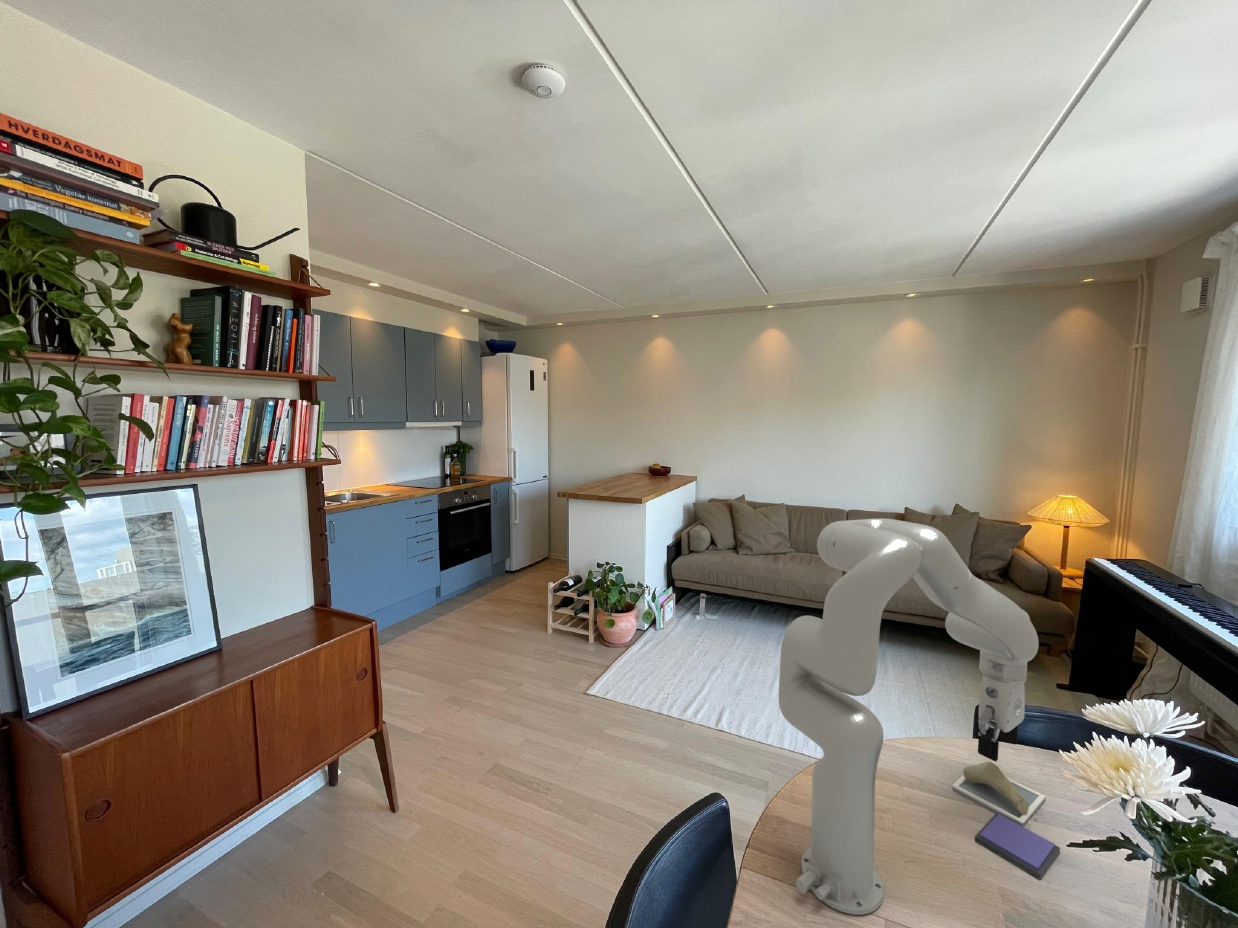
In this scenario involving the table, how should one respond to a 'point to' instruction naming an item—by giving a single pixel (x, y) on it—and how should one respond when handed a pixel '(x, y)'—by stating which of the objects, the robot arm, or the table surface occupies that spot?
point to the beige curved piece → (996, 783)
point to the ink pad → (1018, 845)
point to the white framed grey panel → (1000, 799)
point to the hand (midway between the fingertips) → (997, 748)
